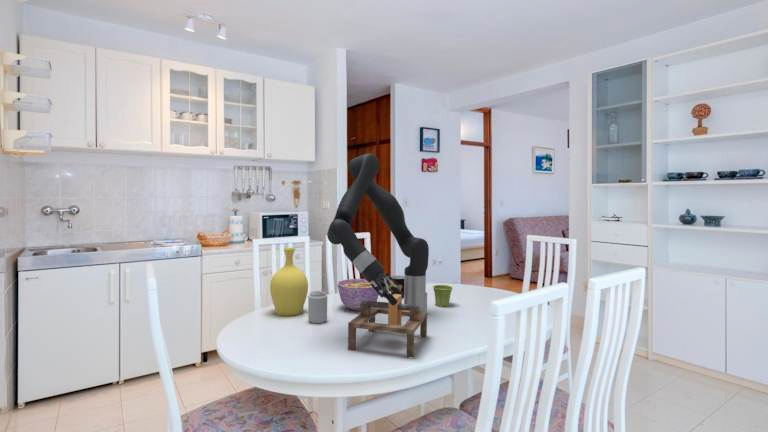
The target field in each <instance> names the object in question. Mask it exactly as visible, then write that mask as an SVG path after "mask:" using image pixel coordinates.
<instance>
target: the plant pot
mask: <svg viewBox="0 0 768 432" xmlns="http://www.w3.org/2000/svg"><path fill="white" fill-rule="evenodd" d="M432 289H433V292H434V299H435V300H434V302H435V305H436V306H437V307H440V306H442V308H443V307H445V306H447V307H449V306H448V305H450V300H451V294H452V290H453V289H454V287H453V286H450V285H446V284H435V285H433V286H432Z"/></svg>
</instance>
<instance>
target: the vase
mask: <svg viewBox="0 0 768 432" xmlns="http://www.w3.org/2000/svg"><path fill="white" fill-rule="evenodd" d="M295 250H296V248H295V247H284V248H283V252H284V254H285V264H284V265H283V266H282V267H281V268H280V269H279V270H277V271H276V272H274V274H273V276H272V277H271V280H270V284H269V290H270V295H271V297H270V298H271V300H272V304H273V307H274V310H275V312H276V314H277V315H279V316H281V317H282V316H283V317H291V316H297V315H300V314H302V311H303V309H304V306H305V303H306V299H307V296H308V291H309V282H308V278H307V276H306V274H305V273H304V272H303V271H302V270H301V269H299V268H297V267H296V266H295V264H294V253H295Z"/></svg>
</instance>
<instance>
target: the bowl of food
mask: <svg viewBox="0 0 768 432" xmlns="http://www.w3.org/2000/svg"><path fill="white" fill-rule="evenodd" d="M371 283H373V281H372V282H368V281H367V280H366V279H365V278H348V279H343V280H339V281H337V283H336V284H337V289H338V294H339V298H340V301H341V303H342V305H344V306H345V307H346V308H349V309H350V310H352V311H358V312H360V304H361V303H362V301H363V300H366V301H376V302H378V298H379V296H380V295H379V294H378V293H377V292H376V291H375V289H374V288H373V287H372V286H371Z"/></svg>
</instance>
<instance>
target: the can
mask: <svg viewBox="0 0 768 432" xmlns="http://www.w3.org/2000/svg"><path fill="white" fill-rule="evenodd" d="M307 296H308V299H307V301H308V302H307V303H308V310H307V311H308V315H307V317H308V319H307V320H308V321H309V322H310V323H311V324H316V325H317V324H324V323H326V321H327V319H328V295H327V294H326V291H324V290H315V291H311V292H309V295H307Z"/></svg>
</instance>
